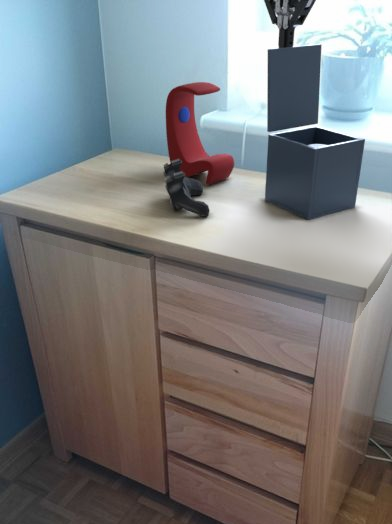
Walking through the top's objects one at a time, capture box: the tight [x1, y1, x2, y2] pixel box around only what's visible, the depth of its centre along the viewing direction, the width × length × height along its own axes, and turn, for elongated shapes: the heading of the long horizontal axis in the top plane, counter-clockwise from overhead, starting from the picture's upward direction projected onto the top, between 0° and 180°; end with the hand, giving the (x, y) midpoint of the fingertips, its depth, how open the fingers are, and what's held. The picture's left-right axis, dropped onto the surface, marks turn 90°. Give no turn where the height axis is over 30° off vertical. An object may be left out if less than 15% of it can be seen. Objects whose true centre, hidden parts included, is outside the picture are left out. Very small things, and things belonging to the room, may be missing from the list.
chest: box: [264, 125, 366, 220], centre depth 112 cm, size 14×13×13 cm
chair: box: [165, 81, 235, 186], centre depth 126 cm, size 15×7×20 cm, turn 47°
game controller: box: [163, 159, 211, 217], centre depth 114 cm, size 16×7×10 cm, turn 5°
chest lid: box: [266, 43, 322, 133], centre depth 109 cm, size 14×13×1 cm
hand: (285, 51), depth 108 cm, fingers closed
